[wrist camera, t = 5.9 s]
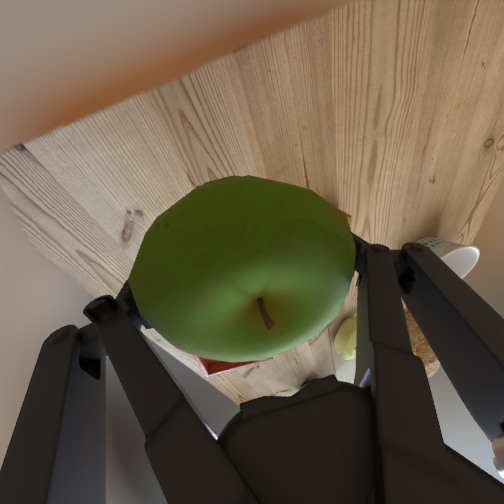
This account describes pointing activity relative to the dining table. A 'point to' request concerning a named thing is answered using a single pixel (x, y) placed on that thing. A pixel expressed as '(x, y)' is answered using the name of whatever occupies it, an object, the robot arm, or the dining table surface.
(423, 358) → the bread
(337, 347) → the banana
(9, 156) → the dining table surface
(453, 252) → the food container
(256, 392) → the dining table surface
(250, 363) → the clay tray
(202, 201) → the apple
